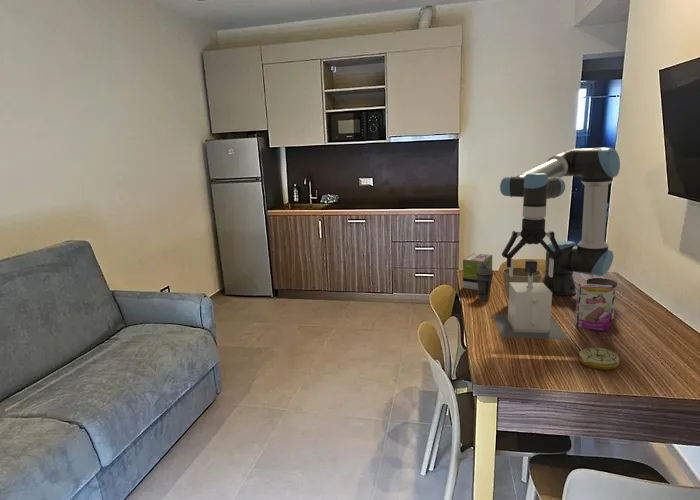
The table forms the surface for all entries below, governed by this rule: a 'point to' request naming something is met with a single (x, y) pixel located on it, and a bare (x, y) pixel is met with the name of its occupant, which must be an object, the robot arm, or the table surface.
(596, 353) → the decorated donut
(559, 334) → the charcoal mat
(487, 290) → the beverage cup
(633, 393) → the table surface
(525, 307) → the white block with hole
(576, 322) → the candy bar box
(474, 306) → the table surface
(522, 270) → the plant pot
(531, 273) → the plunger
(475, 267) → the tea box
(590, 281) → the coffee can
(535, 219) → the robot arm
